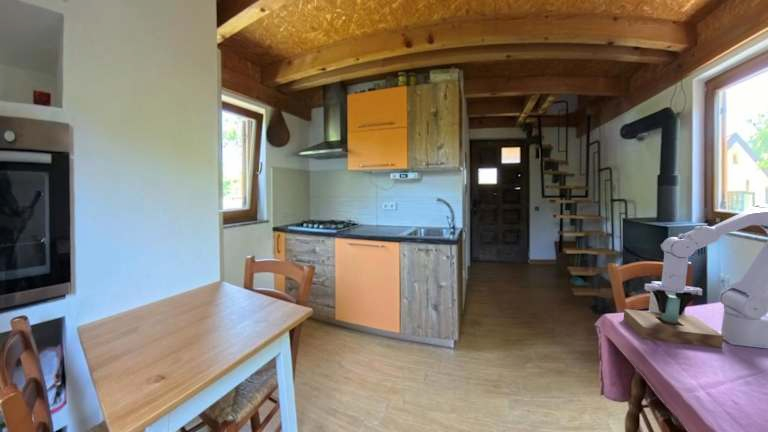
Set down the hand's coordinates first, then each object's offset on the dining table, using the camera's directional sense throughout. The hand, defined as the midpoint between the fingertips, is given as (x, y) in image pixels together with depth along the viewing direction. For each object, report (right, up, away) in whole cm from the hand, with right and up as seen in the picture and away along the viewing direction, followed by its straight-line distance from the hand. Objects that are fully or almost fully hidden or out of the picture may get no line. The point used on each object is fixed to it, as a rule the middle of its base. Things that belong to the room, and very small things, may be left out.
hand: (669, 312), depth 100 cm
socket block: (0, -7, +1) cm, 7 cm away
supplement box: (+10, -6, +12) cm, 17 cm away
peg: (0, -2, 0) cm, 3 cm away
